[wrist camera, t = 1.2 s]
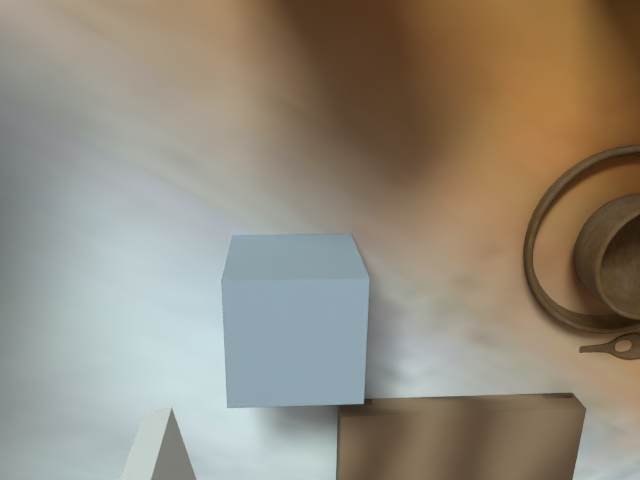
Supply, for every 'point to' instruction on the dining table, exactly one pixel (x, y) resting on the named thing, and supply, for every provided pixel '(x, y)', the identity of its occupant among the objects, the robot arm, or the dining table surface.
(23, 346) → the dining table surface
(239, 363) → the cube
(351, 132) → the dining table surface
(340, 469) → the board
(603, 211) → the place setting
